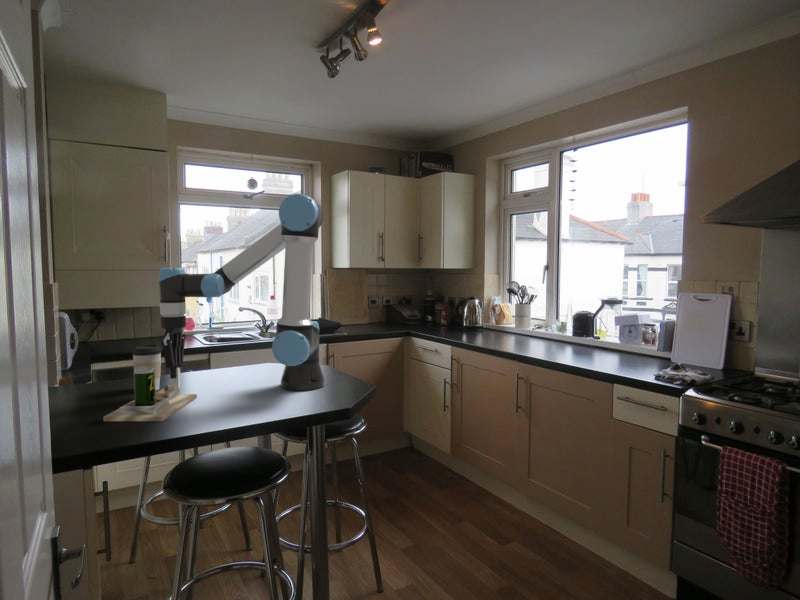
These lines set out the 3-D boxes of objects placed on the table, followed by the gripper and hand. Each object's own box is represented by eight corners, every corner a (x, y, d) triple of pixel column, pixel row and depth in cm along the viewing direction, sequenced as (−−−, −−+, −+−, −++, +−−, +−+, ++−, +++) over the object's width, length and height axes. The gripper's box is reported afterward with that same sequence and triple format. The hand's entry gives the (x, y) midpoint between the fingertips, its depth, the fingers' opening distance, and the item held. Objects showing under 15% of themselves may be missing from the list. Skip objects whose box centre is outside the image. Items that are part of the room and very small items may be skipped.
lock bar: (175, 393, 162) (175, 383, 162) (163, 400, 154) (163, 389, 154) (168, 393, 162) (167, 383, 162) (156, 400, 154) (155, 389, 154)
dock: (196, 397, 162) (196, 388, 162) (162, 421, 138) (161, 409, 138) (146, 397, 162) (146, 388, 162) (103, 421, 138) (102, 409, 138)
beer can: (132, 412, 142) (131, 370, 141) (137, 407, 147) (136, 366, 146) (153, 411, 143) (152, 369, 142) (157, 406, 148) (156, 365, 148)
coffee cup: (150, 393, 168) (149, 348, 167) (127, 391, 170) (125, 347, 168) (168, 386, 177) (167, 344, 176) (145, 385, 178) (144, 343, 177)
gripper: (170, 313, 170) (172, 382, 171) (151, 317, 157) (154, 392, 158) (193, 313, 170) (195, 382, 171) (175, 317, 157) (178, 392, 158)
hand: (175, 387), depth 165 cm, fingers closed
